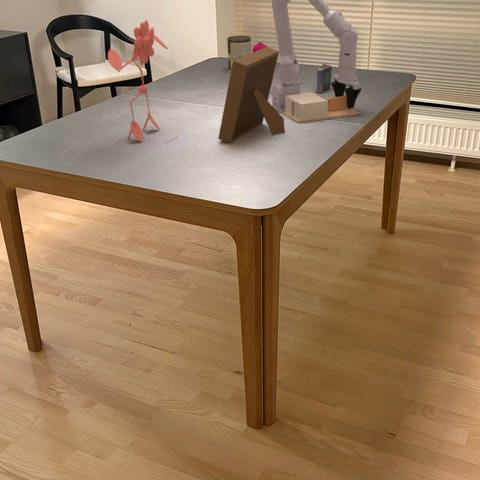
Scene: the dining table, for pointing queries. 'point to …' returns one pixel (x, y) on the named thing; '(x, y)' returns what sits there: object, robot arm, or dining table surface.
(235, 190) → the dining table surface
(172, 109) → the dining table surface
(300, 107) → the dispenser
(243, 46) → the coffee can
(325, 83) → the flask
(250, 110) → the photo frame
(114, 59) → the pink stick figure
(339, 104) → the long copper stick
